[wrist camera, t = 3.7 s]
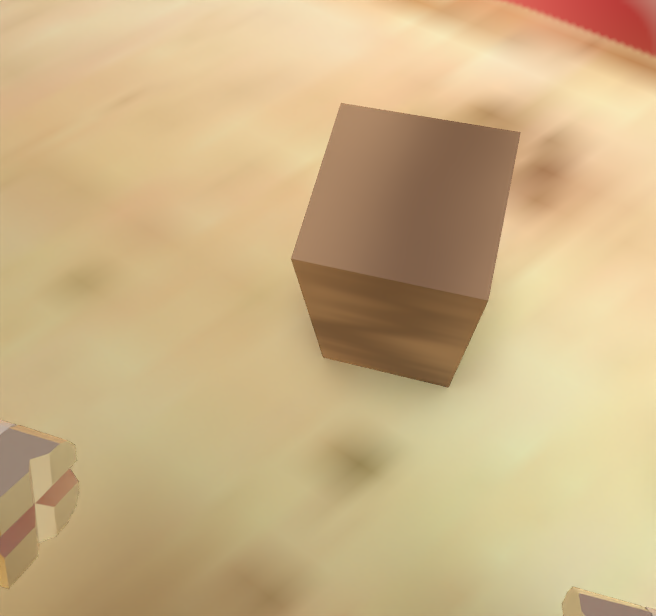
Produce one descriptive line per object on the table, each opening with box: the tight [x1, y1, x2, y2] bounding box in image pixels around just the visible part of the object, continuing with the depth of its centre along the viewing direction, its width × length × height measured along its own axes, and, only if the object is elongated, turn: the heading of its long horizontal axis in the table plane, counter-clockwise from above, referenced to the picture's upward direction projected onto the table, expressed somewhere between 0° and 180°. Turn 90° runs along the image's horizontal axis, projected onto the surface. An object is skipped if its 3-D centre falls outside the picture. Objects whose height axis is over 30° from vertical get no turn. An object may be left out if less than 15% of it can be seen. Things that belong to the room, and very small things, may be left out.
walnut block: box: [291, 103, 520, 387], centre depth 20 cm, size 5×5×9 cm
